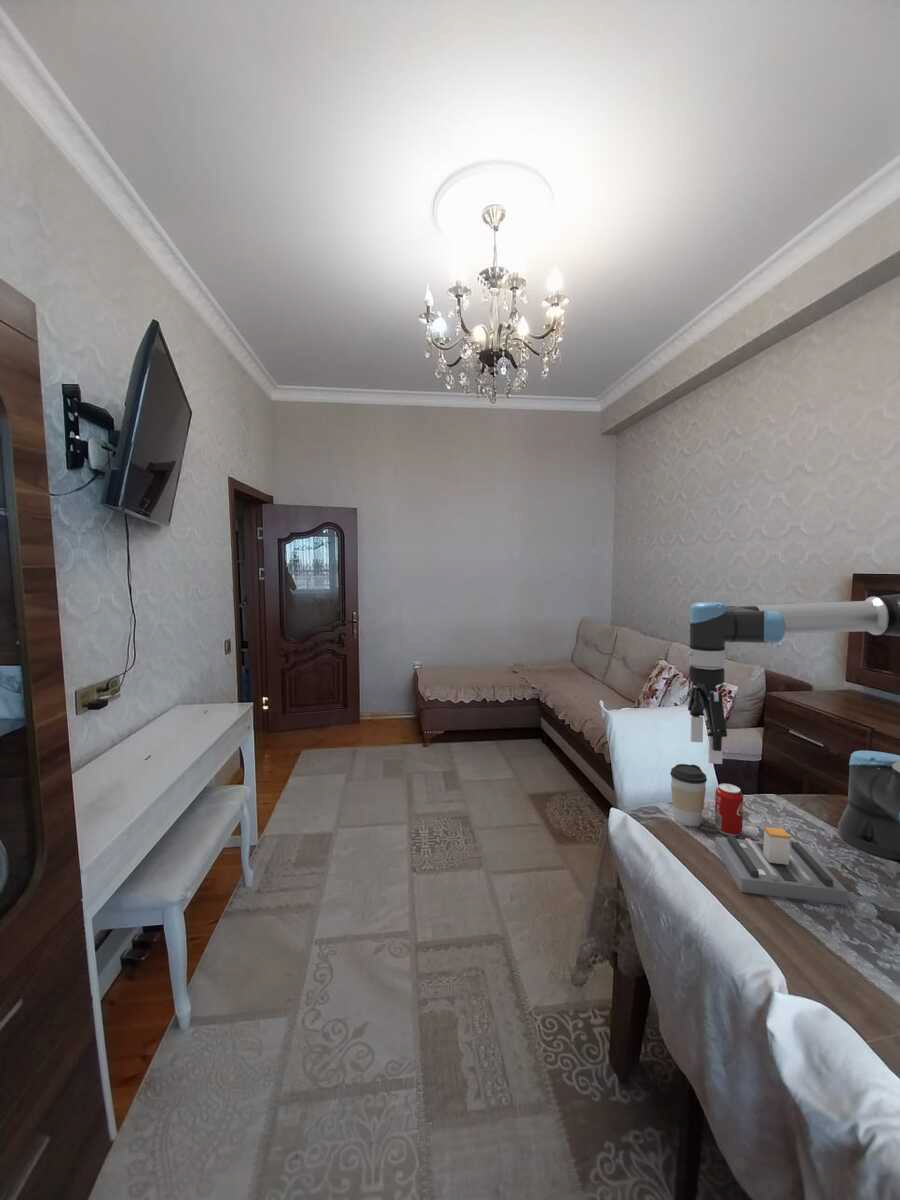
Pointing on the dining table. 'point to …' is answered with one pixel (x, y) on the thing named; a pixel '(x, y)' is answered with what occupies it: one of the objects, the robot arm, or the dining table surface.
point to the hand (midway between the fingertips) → (705, 751)
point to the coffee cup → (688, 793)
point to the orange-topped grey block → (776, 845)
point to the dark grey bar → (812, 864)
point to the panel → (779, 874)
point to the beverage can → (728, 809)
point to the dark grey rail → (743, 856)
